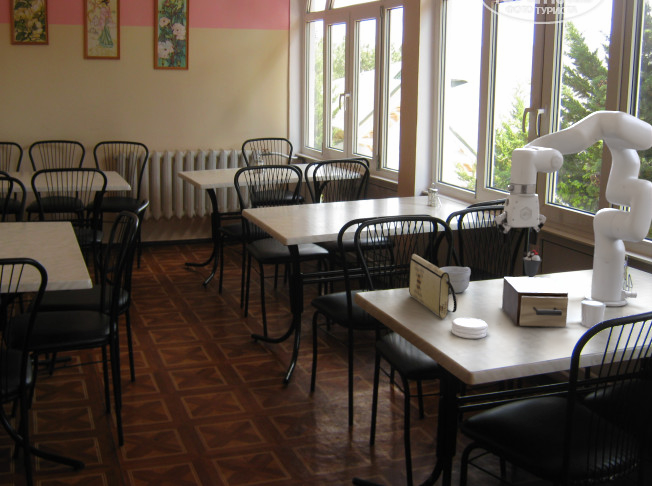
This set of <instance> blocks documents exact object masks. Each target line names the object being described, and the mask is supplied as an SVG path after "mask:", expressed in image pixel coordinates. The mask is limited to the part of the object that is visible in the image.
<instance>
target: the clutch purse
mask: <svg viewBox="0 0 652 486" xmlns="http://www.w3.org/2000/svg"><path fill="white" fill-rule="evenodd" d="M409 259H410V260H409V275H408V277H409V278H408V279H409V280H408V293H409V295H410V296H411V297H412V298H414V299H415V300H416V301H418V302H419V303H421V304H422V305H423V306H425V307H426V308H427V309H428V310H430V311H432V312H433V313H434V314H435V315H437V316H438V317H439V318H440V319H442V320H444V319H446V317H447V315H448V313H456V311H457V309H458V304H457V302H458V301H457V297H456V293H455V292H454V289H453V286H452V285H451V283H450V278H449V274H448V273H447V272H445V271H443V270H441V269H440V268H441V267H438V266H437V265H435V264H433V263H431V262H429V261H428V260H426V259H424V258H422V257H421V256H419V255H418V254H417V253H412V254H411V255H410V258H409ZM450 290H451V296H452V302H453V308H452V311H450V310H449V296H450V292H449V291H450Z"/></svg>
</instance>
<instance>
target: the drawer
mask: <svg viewBox="0 0 652 486" xmlns="http://www.w3.org/2000/svg"><path fill="white" fill-rule="evenodd" d="M568 305H569V296H568V297H563V296H562V295H521V301H520V316H519V321H520V323H519V324H520V325H521V326H520V327H537V326H562V327H561V328H566V327H567V319H568Z"/></svg>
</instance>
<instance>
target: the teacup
mask: <svg viewBox="0 0 652 486" xmlns="http://www.w3.org/2000/svg"><path fill="white" fill-rule="evenodd" d="M439 268H440V269H441V270H443V271H445V272H447V273H448V274H449V278H450V283H451V285H452V286H453V289H454V292H455V294H458V293H464V292H465V290H467V289H468V287H469V285H470V276H471V274H472V273H471V272H472V271H471V268H470V267H468V266H464V267H463V266H443V267H439ZM450 293H451V290H450V291H449V294H450ZM451 294H452V293H451Z"/></svg>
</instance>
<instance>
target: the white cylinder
mask: <svg viewBox="0 0 652 486" xmlns="http://www.w3.org/2000/svg"><path fill="white" fill-rule="evenodd" d="M580 306H581V307H580V309H581V312H580V313H581V315H580V317H581V326H583V327H587V328H589V329H590V328H591V327H592V326H594V325H595V324H597V323H599V322H601V321H604V315H605V311H606V307H607V306H606V304H605V303H603V302H600V301H596V300H586V299H583V300H581V301H580ZM591 329H592V328H591Z"/></svg>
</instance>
